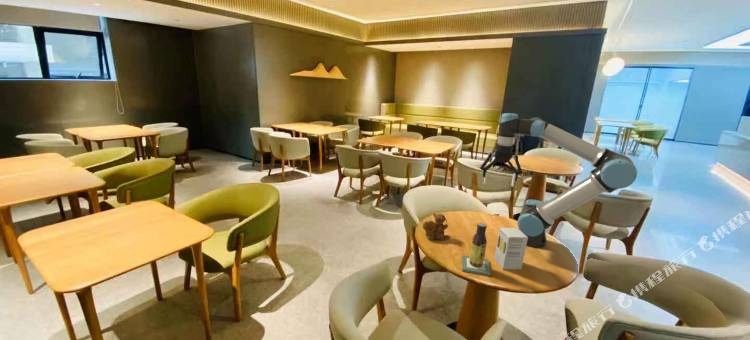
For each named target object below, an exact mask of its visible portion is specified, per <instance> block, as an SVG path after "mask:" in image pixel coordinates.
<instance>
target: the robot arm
mask: <svg viewBox="0 0 750 340" xmlns="http://www.w3.org/2000/svg"><path fill="white" fill-rule="evenodd" d="M498 129H499V130H498V137H497V141H496V143H497V144H496V149H495V153H492V152H488V155H487V157H486V159H485V160H484V161H483V163H482V164H481V165H480V167H479V168H480V170H481V171H483V172H482V177H483V178H484V179H483V180H484V181H483V184H484V185H486V184H487V177H488V171H489V169H491V167H493V166H494V165H495V164H497V162H498V163H500V164H502V163H503V164H508V165H509V166H510V168H511V169H512V171H513V172H514V173H512V180H511V187H512V188H514V186H515V182H516V181H518V176H519V175H523V169H522V167H521V165H520V162H519V156H518V154H513V153H512V152H513V149H514V146H513V145H514V144H515V137H516V135H522V136H523V135H524V136H530V137H533V138H534V137H539V138H542V139H544V140H546V141H548V142H549V143H552V144H553V145H556V146H558V147H559V148H561V149H563V150H566V151H567V152H570V153H571V154H574V155H576V156H577V157H580V158H581V159H583V160H585V161H587V162H589V163H591V166H592V167H594V169H592V170H591V171H590V172H589V176H588V177H586V178H585V179H583V180H581V181H579V182H578V183H576V184H574V185H573V186H571V187H569V188H568V189H566V190H565V191H563V192H561V193H559V194H558V195H556V196H555V197H553V198H551V199H550V200H548V201H546V202H545V201H542V200H537V199H527V200H526V201H525V203H524V205H525V206H524V209H523V211H522V212H521V214H520V215H519V216H518V219H517V228H518V229H519V230H520V231H521V232H522V233H524V234H525V235H526V236H527V237H528V240H527V245H526V247H531V248H543V247H546V245H547V242H548V241H547V234H546V230H547V228H550V227H552V226H553V225H554V223H555V220H556V219H558V218H560V217H562V216H564V215H565V214H567V213H569V212H571V211H573V210H575V209H576V208H578V207H580V206H582V205H583V204H586V203H587V202H589V201H591V200H593V199H595V198H596V197H598V196H600V195H601V194H603V193H606V194H607V193H608V194H612V193H613V192H615V191H618V190H620V189H624V188H628V187H630V186H631V185H632V184H633V183H635V181H636V179H637V175H638V169H637V167H636V165H635V164H634V162H633V160H631V158H630V157H628V156H626V155H623V154H620V153H618V152H615V151H613V150H610V149H609V148H606V147H604V148H601V147H600V146H597V145H595V144H593V143H590V142H589V141H587V140H584V139H582V138H580V137H578V136H576V135H574V134H572V133H569V132H567V131H565V130H564V129H562V128H560V127H557V126H555V125H553V124H551V123H549V122H546V121H544V120H543V119H542V118H540V117H536V116H535V117H532V118H530V119H526V118H519V114H518V113H513V112H512V113H510V112H507V113H505V112H504V113H502V114H501V118H500V122H499V128H498ZM493 157H494V159H493V160H492V161H490V160H491V159H492V158H493ZM512 159H513V160H514V162H515V164H516V167H515V166H514V165H513V163H512V162H511V160H512ZM516 168H517V169H516Z"/></svg>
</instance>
